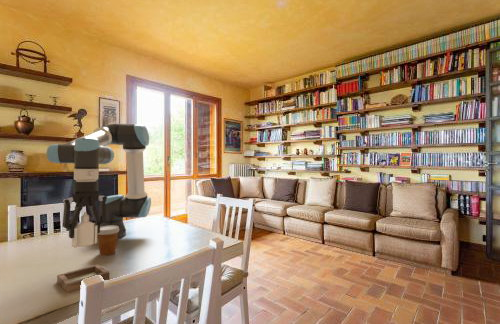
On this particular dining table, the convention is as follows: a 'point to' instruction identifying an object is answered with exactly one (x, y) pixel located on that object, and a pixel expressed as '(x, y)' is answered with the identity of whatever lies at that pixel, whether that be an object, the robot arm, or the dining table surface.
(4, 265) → the dining table surface
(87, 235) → the eye dropper bottle
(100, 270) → the wooden tray
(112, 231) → the disposable coffee cup
